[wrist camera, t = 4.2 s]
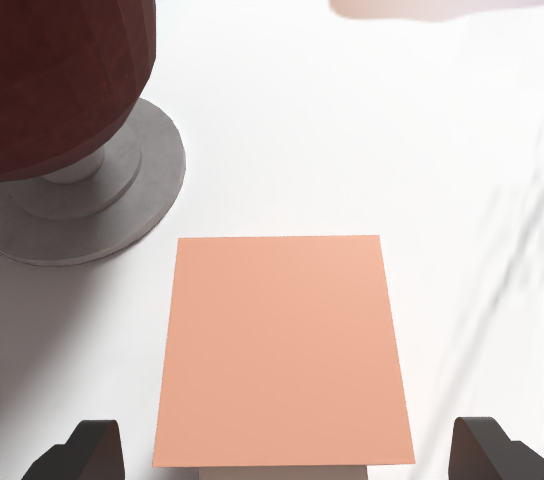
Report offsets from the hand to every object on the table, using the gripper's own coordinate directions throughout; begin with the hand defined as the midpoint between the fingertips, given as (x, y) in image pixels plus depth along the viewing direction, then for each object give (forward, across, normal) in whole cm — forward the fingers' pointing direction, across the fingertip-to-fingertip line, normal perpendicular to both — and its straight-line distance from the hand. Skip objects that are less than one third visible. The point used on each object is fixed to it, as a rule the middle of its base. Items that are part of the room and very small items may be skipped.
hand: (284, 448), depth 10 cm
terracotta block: (+7, 0, +4) cm, 8 cm away
